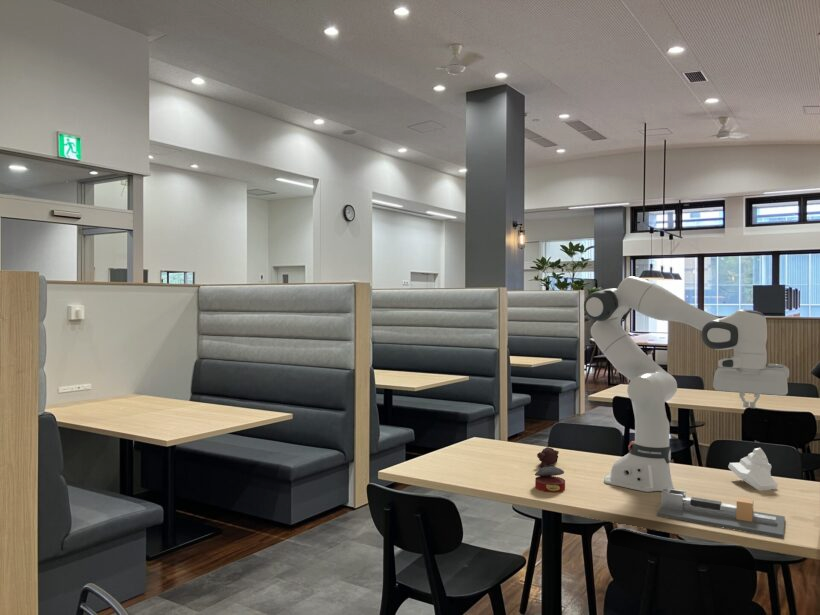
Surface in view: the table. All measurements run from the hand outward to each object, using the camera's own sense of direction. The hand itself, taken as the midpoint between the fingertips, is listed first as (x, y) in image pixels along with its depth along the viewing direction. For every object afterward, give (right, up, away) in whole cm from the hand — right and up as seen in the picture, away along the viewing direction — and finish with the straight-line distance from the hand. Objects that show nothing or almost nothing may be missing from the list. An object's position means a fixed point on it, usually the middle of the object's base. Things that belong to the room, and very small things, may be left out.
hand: (749, 407), depth 196 cm
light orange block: (-8, -30, -12) cm, 33 cm away
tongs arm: (-15, -28, -7) cm, 33 cm away
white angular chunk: (+16, -32, +27) cm, 45 cm away
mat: (-13, -31, -9) cm, 35 cm away
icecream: (-50, -30, +51) cm, 78 cm away
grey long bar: (-14, -30, -8) cm, 34 cm away
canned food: (-57, -30, +19) cm, 67 cm away
